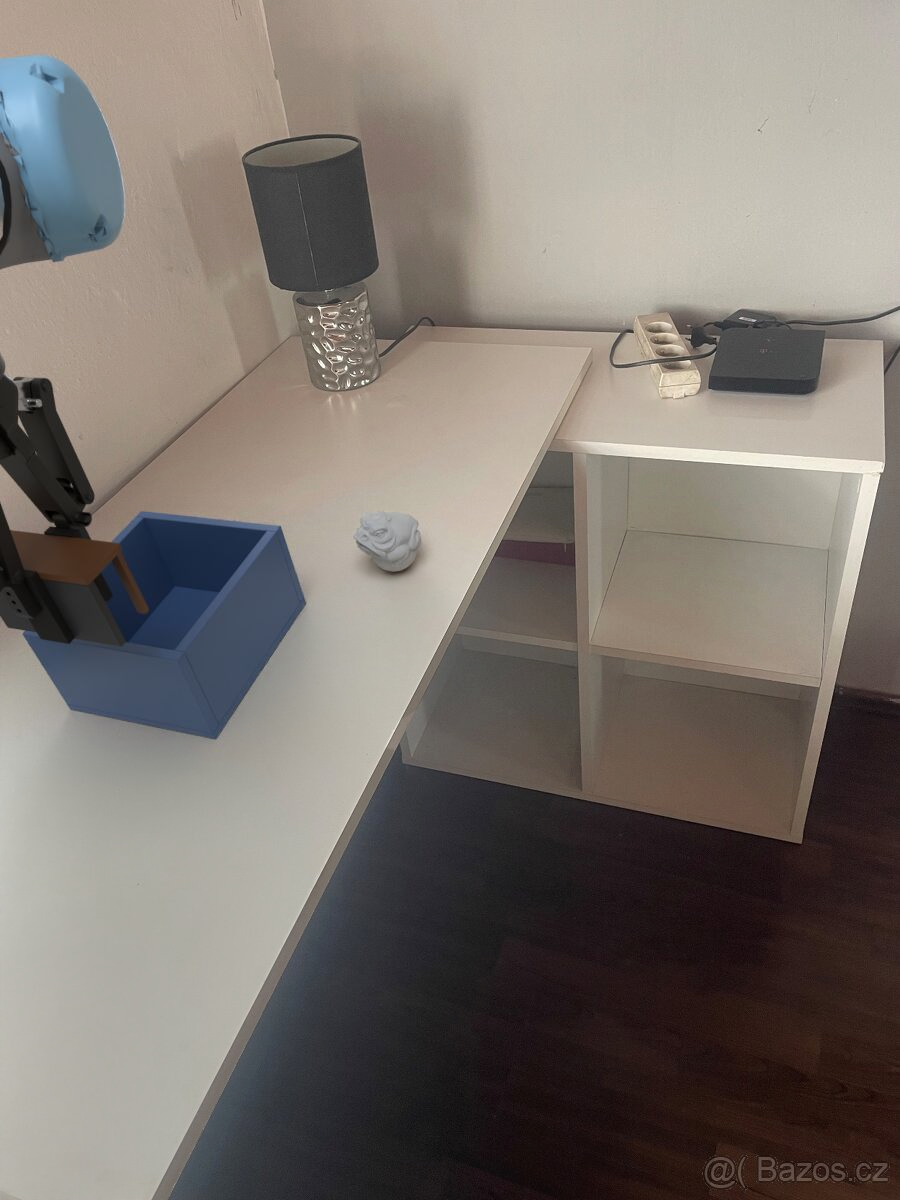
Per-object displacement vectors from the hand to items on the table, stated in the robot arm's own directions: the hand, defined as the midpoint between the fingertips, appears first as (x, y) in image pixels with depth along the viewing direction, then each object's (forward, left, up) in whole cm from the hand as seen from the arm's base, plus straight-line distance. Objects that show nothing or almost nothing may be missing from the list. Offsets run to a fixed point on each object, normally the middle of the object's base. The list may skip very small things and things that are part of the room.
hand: (77, 616), depth 67 cm
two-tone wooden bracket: (0, 0, 0) cm, 0 cm away
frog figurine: (+26, -14, -15) cm, 33 cm away
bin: (+10, +1, -15) cm, 18 cm away
